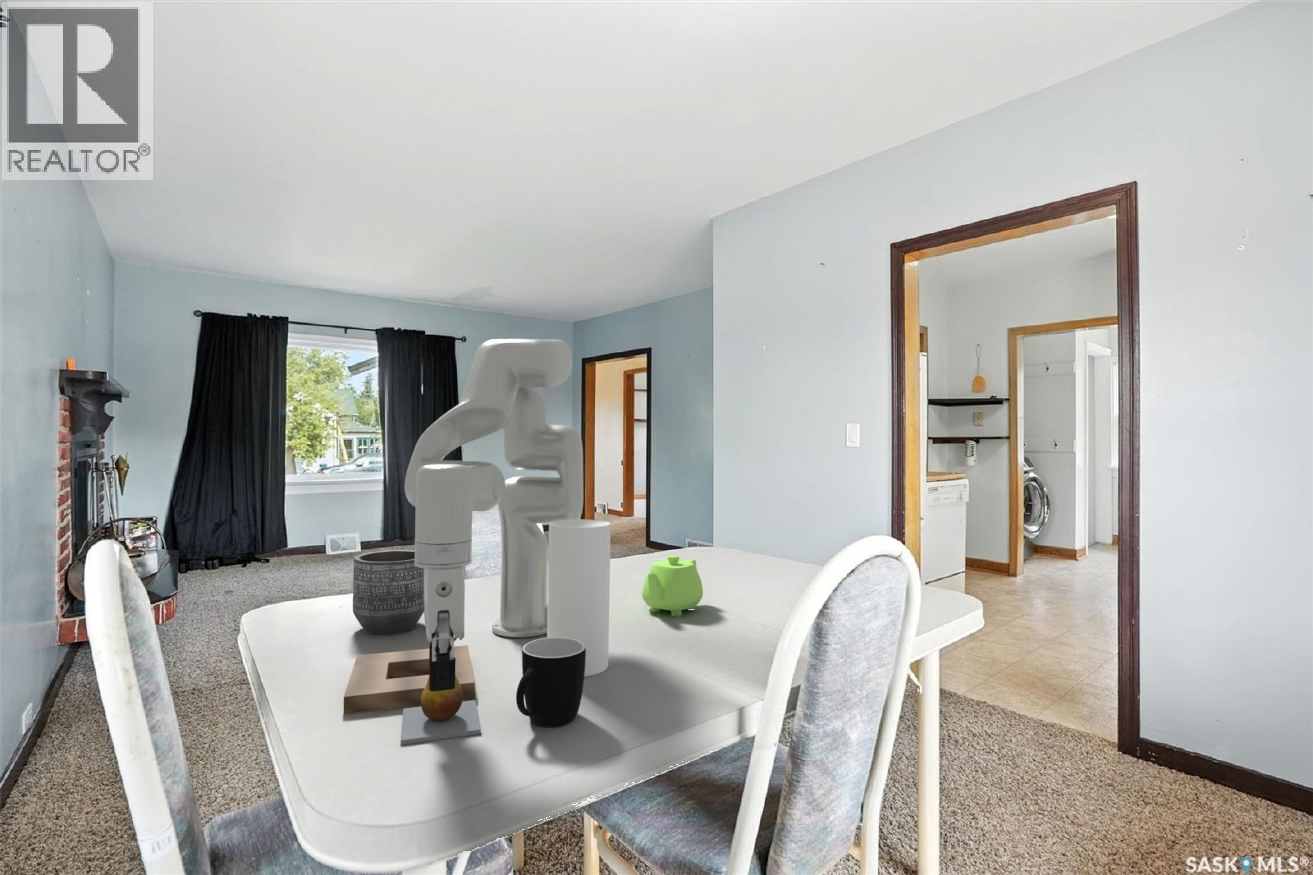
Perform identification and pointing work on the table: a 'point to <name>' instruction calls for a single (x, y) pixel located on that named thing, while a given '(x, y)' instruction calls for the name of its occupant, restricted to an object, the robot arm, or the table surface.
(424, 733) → the coaster
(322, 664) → the table surface
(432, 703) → the fruit
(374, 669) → the block with square hole
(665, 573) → the teapot
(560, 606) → the tall pillar cylinder
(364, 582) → the planter
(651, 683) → the table surface
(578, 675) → the mug
